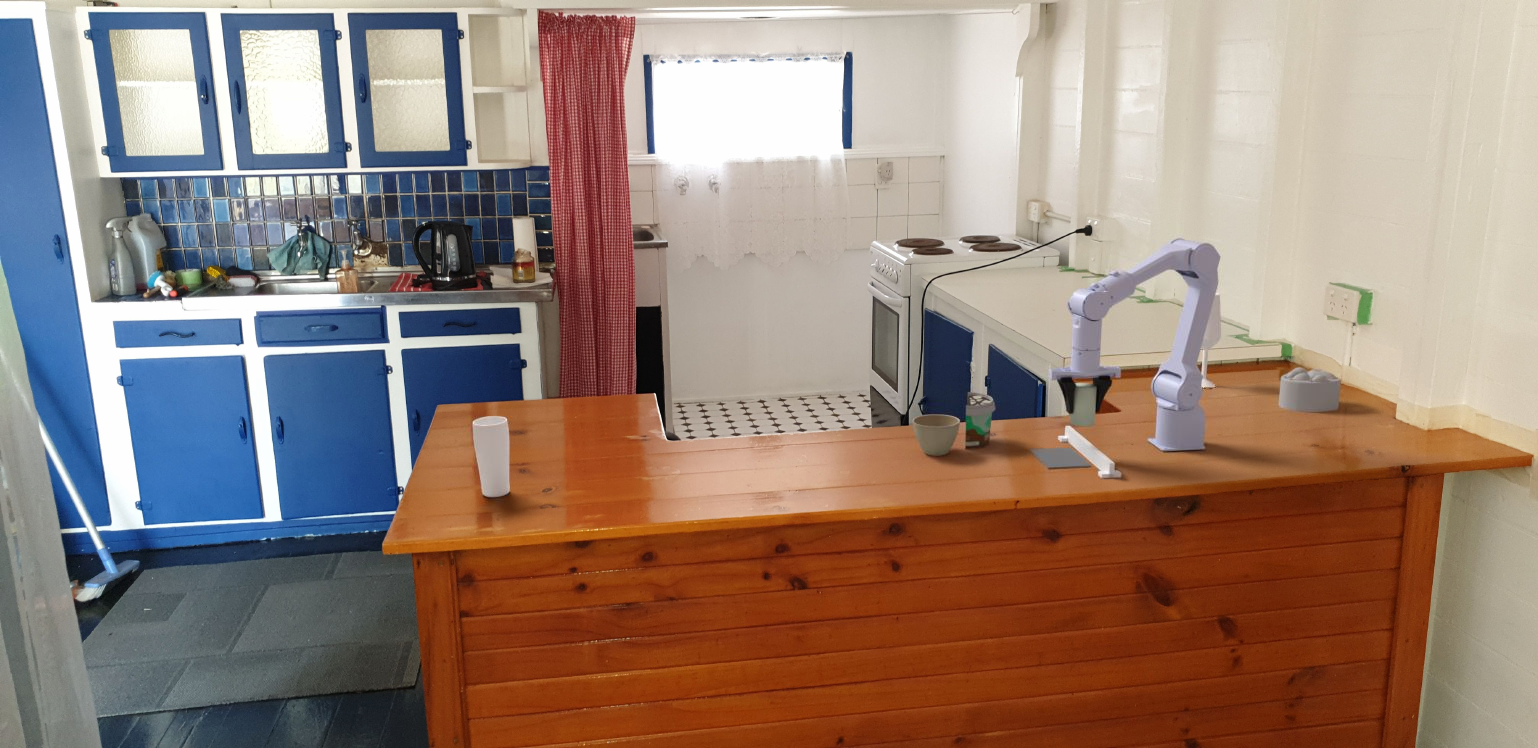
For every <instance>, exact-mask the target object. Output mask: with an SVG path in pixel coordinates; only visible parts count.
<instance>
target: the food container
mask: <svg viewBox="0 0 1538 748" xmlns="http://www.w3.org/2000/svg"><path fill="white" fill-rule="evenodd" d="M966 402H967V404H966V405H965V443H964V447H965V450H977V449H982V448H985V447H988V446H989V444H990V438H991V427H992V426H991V425H992V415H993V412H995V410H996V404H995V401H994V399H993V397H992V396H990V395H988V394H984V393H980V392H973V391H971V392H970V391H968V392H967V401H966Z"/></svg>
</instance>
